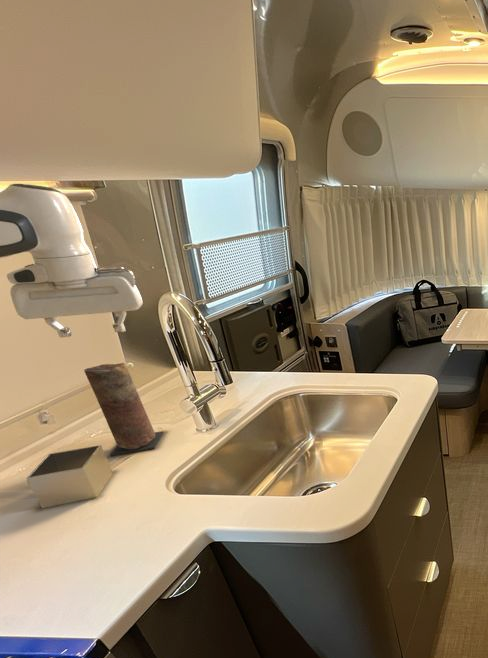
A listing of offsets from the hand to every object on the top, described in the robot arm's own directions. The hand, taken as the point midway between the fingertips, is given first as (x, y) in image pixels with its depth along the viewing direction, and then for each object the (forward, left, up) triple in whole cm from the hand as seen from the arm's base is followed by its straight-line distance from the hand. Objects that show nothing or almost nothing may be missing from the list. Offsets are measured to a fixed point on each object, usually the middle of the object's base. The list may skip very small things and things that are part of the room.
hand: (93, 333), depth 105 cm
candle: (0, 0, -28) cm, 28 cm away
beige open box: (-6, -17, -28) cm, 33 cm away
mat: (0, 0, -28) cm, 28 cm away
